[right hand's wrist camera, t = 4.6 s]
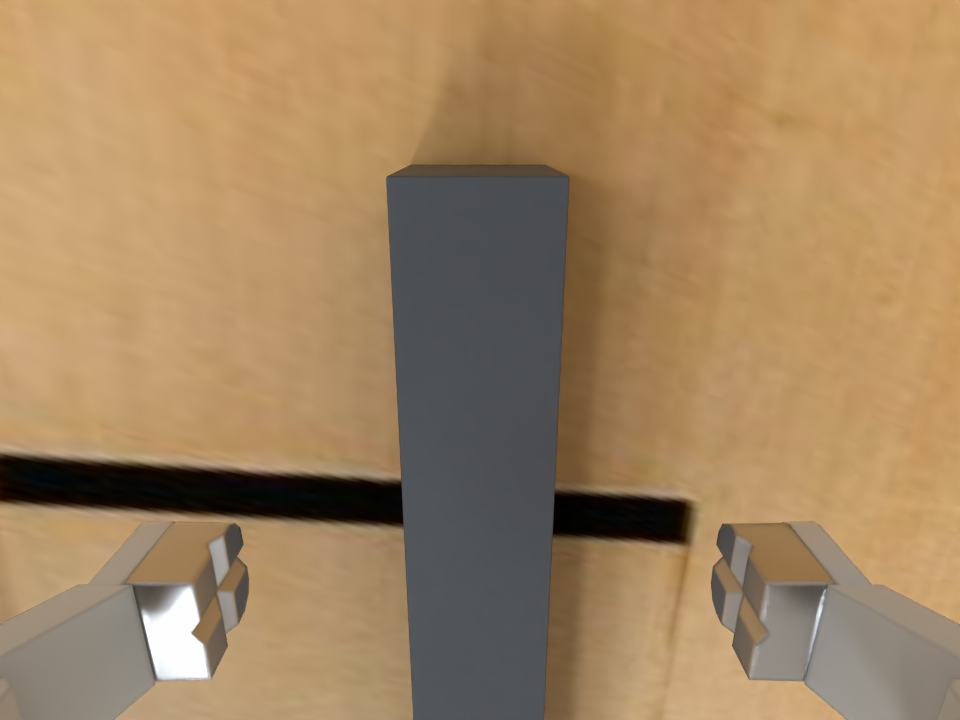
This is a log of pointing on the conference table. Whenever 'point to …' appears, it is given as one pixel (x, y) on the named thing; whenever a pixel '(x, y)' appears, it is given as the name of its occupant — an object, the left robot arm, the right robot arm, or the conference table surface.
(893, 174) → the conference table surface
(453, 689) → the post
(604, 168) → the conference table surface
